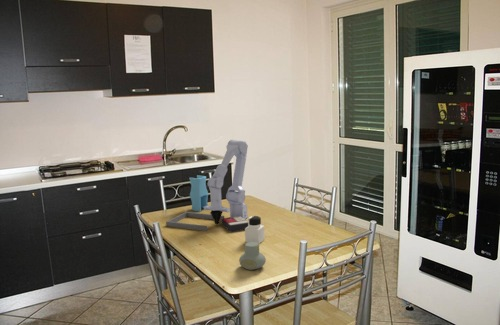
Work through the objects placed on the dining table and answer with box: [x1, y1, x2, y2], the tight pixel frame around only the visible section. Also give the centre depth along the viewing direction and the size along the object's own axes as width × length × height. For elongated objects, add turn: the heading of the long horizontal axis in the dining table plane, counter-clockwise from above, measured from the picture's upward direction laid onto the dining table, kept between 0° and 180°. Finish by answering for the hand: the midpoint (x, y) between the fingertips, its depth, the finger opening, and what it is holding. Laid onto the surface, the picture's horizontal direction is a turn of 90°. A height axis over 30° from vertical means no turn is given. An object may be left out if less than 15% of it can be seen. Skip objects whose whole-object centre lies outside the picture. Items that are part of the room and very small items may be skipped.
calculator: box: [221, 216, 248, 233], centre depth 243 cm, size 11×4×15 cm
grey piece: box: [165, 211, 225, 232], centre depth 252 cm, size 25×20×2 cm
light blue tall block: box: [188, 175, 209, 213], centre depth 278 cm, size 8×8×20 cm
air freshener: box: [238, 242, 267, 271], centre depth 189 cm, size 11×8×10 cm
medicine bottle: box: [244, 215, 265, 245], centre depth 220 cm, size 7×7×12 cm
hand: (217, 223), depth 246 cm, fingers closed
